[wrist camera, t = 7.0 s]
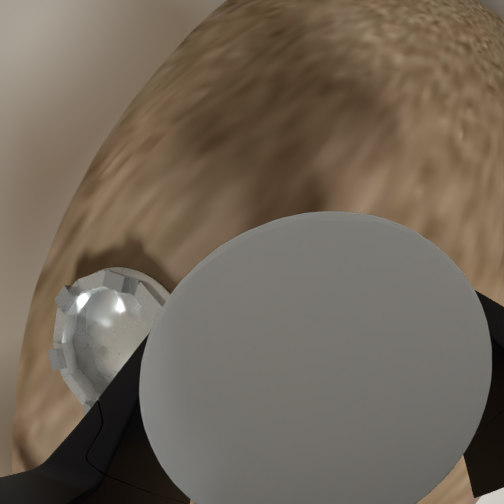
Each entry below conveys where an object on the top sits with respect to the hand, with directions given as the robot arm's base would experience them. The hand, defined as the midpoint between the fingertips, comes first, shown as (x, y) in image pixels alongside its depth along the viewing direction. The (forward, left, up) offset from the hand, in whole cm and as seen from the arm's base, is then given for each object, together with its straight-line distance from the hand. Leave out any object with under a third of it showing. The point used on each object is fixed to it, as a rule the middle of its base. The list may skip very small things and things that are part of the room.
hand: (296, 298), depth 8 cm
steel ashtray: (+7, +13, -13) cm, 19 cm away
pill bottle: (-1, +1, -7) cm, 7 cm away
